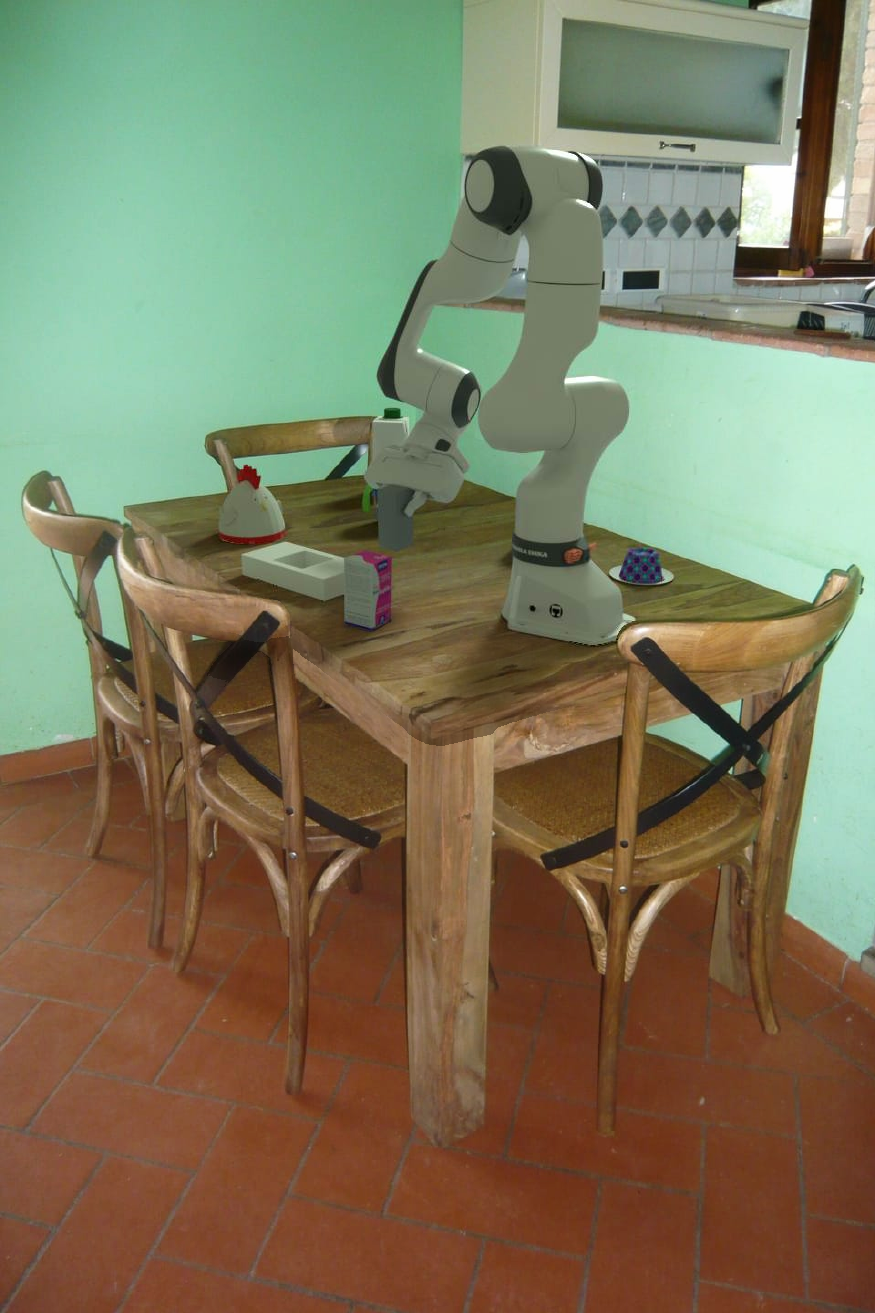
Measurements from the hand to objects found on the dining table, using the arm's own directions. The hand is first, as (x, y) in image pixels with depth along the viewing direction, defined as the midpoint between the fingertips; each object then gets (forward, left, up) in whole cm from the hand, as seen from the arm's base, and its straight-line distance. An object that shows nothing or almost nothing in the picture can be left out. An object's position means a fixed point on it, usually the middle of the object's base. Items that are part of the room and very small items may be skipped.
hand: (393, 512), depth 181 cm
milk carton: (+44, -48, -13) cm, 66 cm away
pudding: (-35, -31, -13) cm, 48 cm away
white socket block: (+11, +12, -12) cm, 21 cm away
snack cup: (+25, -28, -13) cm, 40 cm away
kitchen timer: (+41, -1, -13) cm, 43 cm away
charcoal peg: (0, -1, -7) cm, 7 cm away
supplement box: (-13, +20, -13) cm, 27 cm away
